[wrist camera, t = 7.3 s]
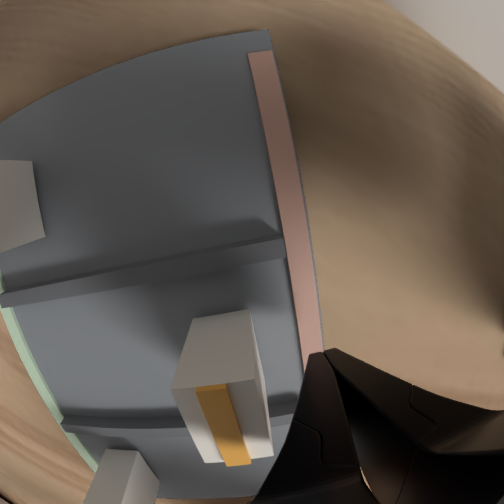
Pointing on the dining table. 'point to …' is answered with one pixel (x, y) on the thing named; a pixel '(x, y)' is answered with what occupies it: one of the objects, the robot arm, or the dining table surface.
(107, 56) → the dining table surface
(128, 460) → the block
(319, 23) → the dining table surface
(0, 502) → the bowl
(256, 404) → the block
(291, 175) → the panel
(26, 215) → the block
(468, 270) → the dining table surface
